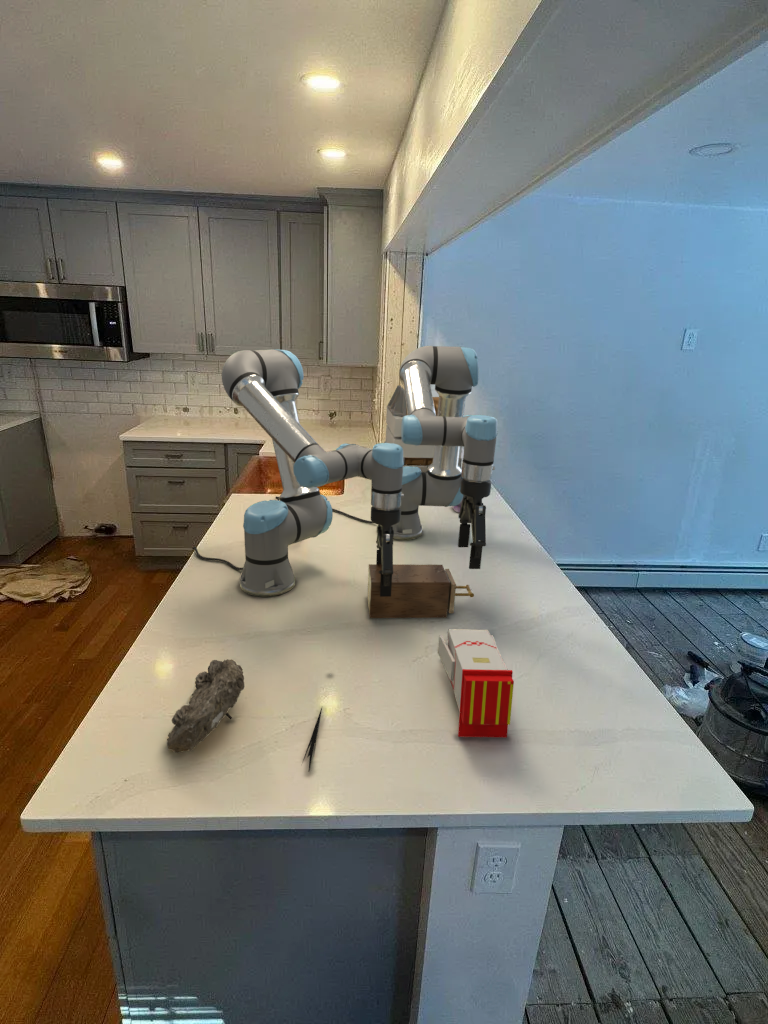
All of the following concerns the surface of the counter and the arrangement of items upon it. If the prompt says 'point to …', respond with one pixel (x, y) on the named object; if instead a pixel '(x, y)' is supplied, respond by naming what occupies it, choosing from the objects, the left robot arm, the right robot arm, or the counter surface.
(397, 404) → the transformer
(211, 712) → the fossil
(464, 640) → the white and red box
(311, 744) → the feather
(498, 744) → the counter surface
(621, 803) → the counter surface
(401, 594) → the cabinet
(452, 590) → the drawer
